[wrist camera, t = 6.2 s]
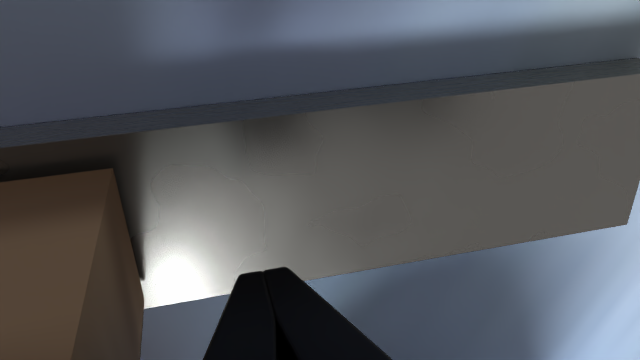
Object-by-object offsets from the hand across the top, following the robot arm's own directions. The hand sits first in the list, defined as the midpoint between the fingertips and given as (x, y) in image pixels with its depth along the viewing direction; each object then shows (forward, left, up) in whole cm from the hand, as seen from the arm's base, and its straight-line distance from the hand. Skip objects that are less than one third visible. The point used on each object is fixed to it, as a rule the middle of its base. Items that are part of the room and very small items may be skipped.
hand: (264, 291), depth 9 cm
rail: (0, +5, -4) cm, 6 cm away
